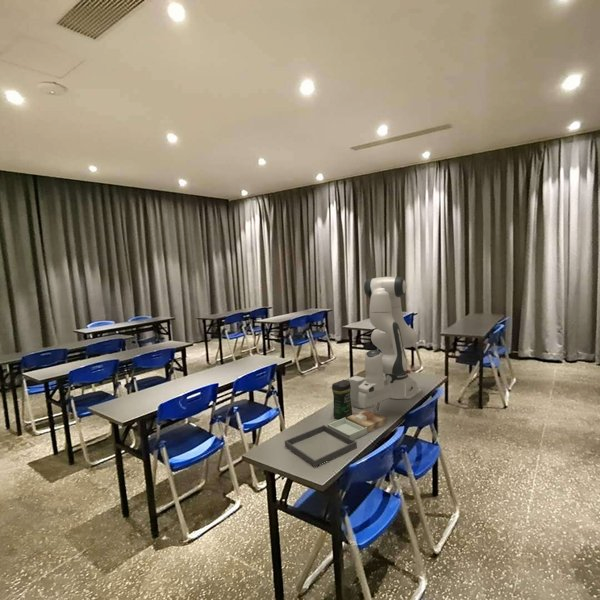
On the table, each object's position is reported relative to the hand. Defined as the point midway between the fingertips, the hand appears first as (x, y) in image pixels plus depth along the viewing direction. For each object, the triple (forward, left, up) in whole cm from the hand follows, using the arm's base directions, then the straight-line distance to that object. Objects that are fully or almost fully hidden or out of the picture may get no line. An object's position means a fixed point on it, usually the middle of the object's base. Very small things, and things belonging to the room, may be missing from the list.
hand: (376, 410), depth 178 cm
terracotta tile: (+6, 0, -1) cm, 6 cm away
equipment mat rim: (+37, +2, -4) cm, 38 cm away
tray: (+20, 0, -4) cm, 20 cm away
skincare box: (-5, -18, -4) cm, 19 cm away
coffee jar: (+10, -14, -4) cm, 18 cm away
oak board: (+7, 0, -4) cm, 8 cm away
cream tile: (+11, 0, -1) cm, 11 cm away
